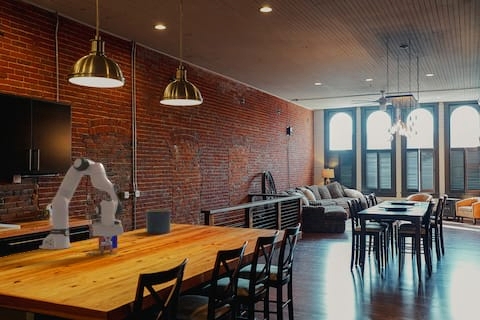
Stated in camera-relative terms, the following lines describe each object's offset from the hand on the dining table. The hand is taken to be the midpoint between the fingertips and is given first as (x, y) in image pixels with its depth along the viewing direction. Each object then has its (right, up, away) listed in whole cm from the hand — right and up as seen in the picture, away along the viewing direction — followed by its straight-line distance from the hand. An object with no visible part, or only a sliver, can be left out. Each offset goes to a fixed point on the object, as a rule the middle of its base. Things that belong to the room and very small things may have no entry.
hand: (108, 242), depth 305 cm
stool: (-1, -7, 0) cm, 7 cm away
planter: (+16, -10, +100) cm, 101 cm away
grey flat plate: (-4, -8, -1) cm, 9 cm away
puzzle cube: (-6, -9, +20) cm, 22 cm away
